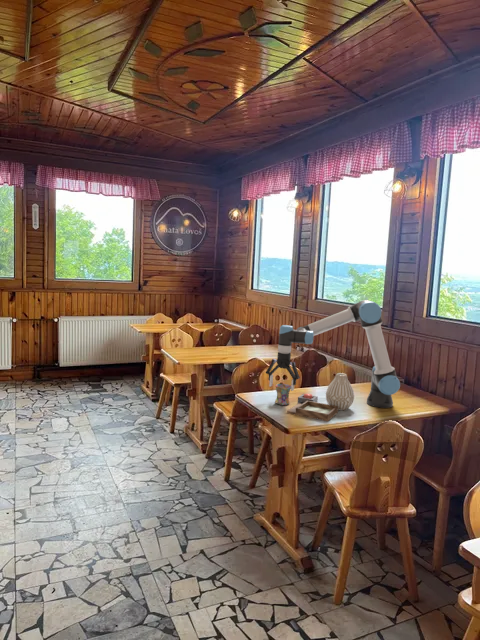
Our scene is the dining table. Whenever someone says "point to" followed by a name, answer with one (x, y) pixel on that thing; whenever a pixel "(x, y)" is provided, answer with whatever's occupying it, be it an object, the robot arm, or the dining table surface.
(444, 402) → the dining table surface
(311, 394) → the button
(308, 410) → the wooden tray
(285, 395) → the mug
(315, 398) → the button box
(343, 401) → the vase
